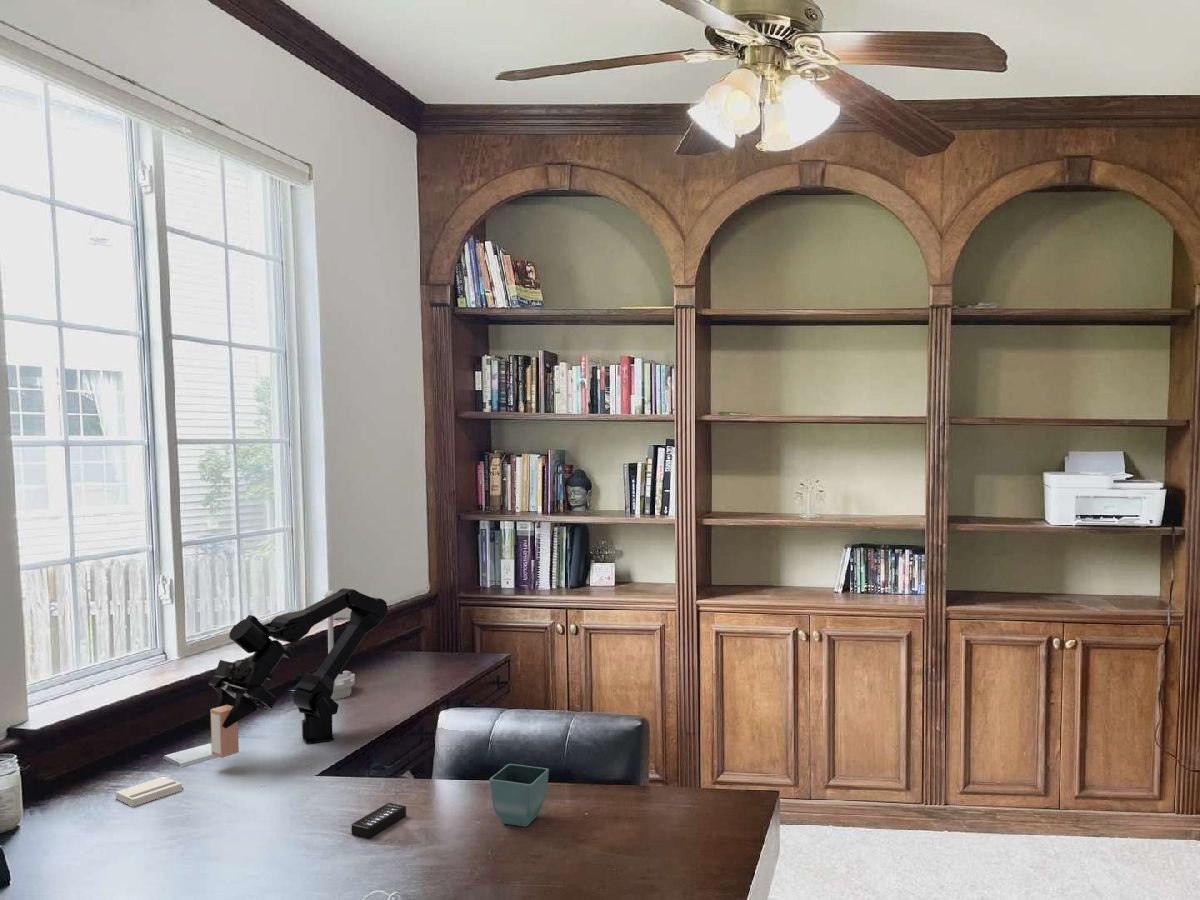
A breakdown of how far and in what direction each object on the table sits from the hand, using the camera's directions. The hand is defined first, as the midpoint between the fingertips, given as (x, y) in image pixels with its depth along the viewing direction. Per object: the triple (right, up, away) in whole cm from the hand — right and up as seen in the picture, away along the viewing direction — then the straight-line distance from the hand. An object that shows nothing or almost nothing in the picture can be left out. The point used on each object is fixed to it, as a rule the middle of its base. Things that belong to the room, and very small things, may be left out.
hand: (218, 725), depth 195 cm
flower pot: (+69, -10, -27) cm, 75 cm away
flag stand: (+7, -10, +59) cm, 60 cm away
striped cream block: (-9, -10, -12) cm, 19 cm away
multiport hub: (+42, -11, -28) cm, 52 cm away
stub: (+1, -7, +1) cm, 7 cm away
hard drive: (-9, -11, +10) cm, 17 cm away
